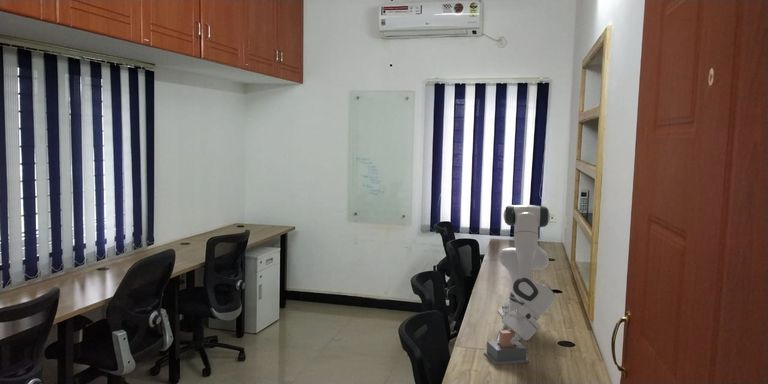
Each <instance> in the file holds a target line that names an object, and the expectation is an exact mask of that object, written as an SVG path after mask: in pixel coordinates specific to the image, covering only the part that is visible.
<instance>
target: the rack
mask: <svg viewBox="0 0 768 384" xmlns="http://www.w3.org/2000/svg"><path fill="white" fill-rule="evenodd" d="M527 353H528V348H527V347H526V346H524V345H523V344H522V343H521V342H520V341H519V340H518V341H516V342H515V346H512V347H500V346H499V341H496V340H488V341H486V351H485V350H484V351H483V355H484V356H486V357H487V358H488V359H489V360H490V361H491V363H492V364H493V365H495V366H496V365H497V366H498V365H499V366H500V365H509V364H511V365H512V364H523V363H529V362H530V359H529V358H528V357H527V355H528V354H527Z"/></svg>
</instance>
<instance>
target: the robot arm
mask: <svg viewBox="0 0 768 384" xmlns="http://www.w3.org/2000/svg"><path fill="white" fill-rule="evenodd" d="M503 220H504V223H505V224H506V225H507V226H510V227H513V226H514V230H513V240H514V241H513V243H514V244H513V245H514V247H513V246H512V247H506V248H502V249H501V250H500V252H499V254H498V260H499V263H500V264H501V265H502V267H504V268H505V269H506V271H507V273H508V274H509V276H510V282H511V289H510V290H511V291H509V297H508V298H507V300H505V301H504V302H503V303H502V306H501V309H498V311H497V312H498V314H499V315H500V316H501V318H502V320H501V322H502V324H503V326H502V328H501V329H500V330H501V331H505V330H513V331H514V332H515V333H516V335H515V337H514V338H511V339H510V340H509V342H510V343H511V344H514V343H515V342H516V341H518V342H519V341H520V340H521V339H522V340H523V341H524V342H526V341H528V340H531V338H532V337H533V335H535V334H536V332H537V330H540V329H541V327H542V326H541V324H540V322H539V319H540V318H541V316H542V315H543V314H544V313H545V312H547V311H548V309H549V308H551V306H552V305H553V304H554V302H555V301H556V295H555V292H554V291H553V290H552V287H550V286H549V285H547V284H546V283H545V284H542V283H540V282H539V283H538V282H535V281H534V280H533V270H534V271H537V270H538V271H539V270H544V269H546V268H547V266H548V265H549V262H550V259H549V254H548V253H547V251H545V250H544V249H542V247H540V245H539V243H538V241H539V228H544V227H546V226H547V225H549V222H550V220H551V213H550V210H549V209H548V208H547V206H543V205H532V204H516V205H514V204H510V205H507V206H506V207H505V210H504V211H503Z"/></svg>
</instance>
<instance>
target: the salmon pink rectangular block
mask: <svg viewBox="0 0 768 384" xmlns="http://www.w3.org/2000/svg"><path fill="white" fill-rule="evenodd" d="M499 331H500V330H499ZM514 337H515V332H514V331H513V330H510V329H508V330H505V331H500V335H499V346H500V347H512V346H515V343H514V344H511V343H510V342H509V340H510V339H511V338H514Z"/></svg>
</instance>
